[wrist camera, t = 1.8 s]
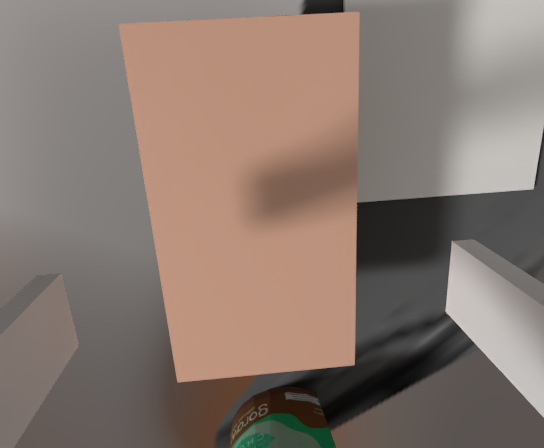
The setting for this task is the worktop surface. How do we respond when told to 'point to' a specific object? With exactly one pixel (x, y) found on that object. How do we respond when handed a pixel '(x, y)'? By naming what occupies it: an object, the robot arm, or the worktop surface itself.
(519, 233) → the worktop surface
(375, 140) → the grey mat
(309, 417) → the food container
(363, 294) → the worktop surface
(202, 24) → the peach flat tile
